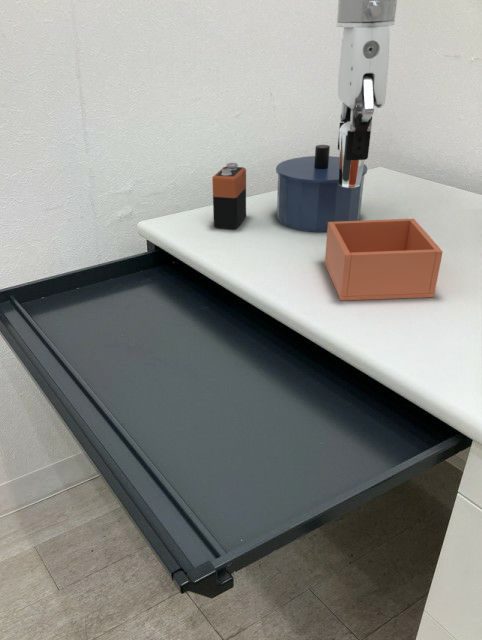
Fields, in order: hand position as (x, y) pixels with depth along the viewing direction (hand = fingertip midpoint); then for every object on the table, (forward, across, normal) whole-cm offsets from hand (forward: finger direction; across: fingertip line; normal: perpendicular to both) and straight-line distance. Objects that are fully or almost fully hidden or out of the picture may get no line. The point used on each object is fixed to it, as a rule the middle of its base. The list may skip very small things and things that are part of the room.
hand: (352, 153), depth 89 cm
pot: (+14, +14, +2) cm, 20 cm away
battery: (+15, +12, +18) cm, 26 cm away
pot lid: (+6, +14, +2) cm, 15 cm away
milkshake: (+5, 0, 0) cm, 5 cm away
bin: (+14, -14, -2) cm, 20 cm away
